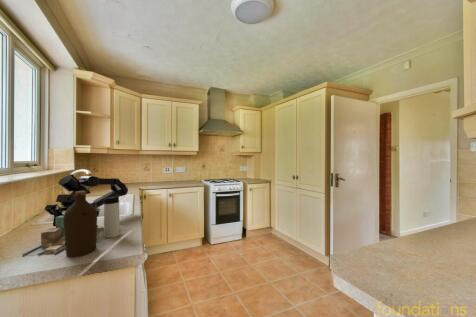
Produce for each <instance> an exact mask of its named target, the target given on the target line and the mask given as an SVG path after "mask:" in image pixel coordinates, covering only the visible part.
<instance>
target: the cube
mask: <svg viewBox="0 0 476 317" xmlns="http://www.w3.org/2000/svg"><path fill="white" fill-rule="evenodd" d="M60 239H62V228H56V227H53V228H52V227H51V228H46V229H45V230H43V231H42V232H40V243H41V244H47V243H55V242H57V241H58V240H60ZM41 244H40V245H41Z"/></svg>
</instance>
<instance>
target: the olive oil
mask: <svg viewBox="0 0 476 317" xmlns="http://www.w3.org/2000/svg"><path fill="white" fill-rule="evenodd" d="M75 194H76V195H75V202H74V203H73V204H72V205H71V206H70V207H69V208H68V209H67V210H66V211H64V213H63V215H64V217H63V222H64V232H65V246H66V249H65V254H66V255H65V256H66V257H67V258H72V259H73V258H75V259H76V258H81V257H84V256H88V255H89V254H92V253H93V252H95V251H96V250H97V231H98V228H97V227H98V226H97V225H98V216H97V211H98V209H97V210H96V208H95V207H94V206H93V205H91V204H90V203H89V202H87V201H88V200H87V196H86V195H87V194H85V191H77V192H75Z"/></svg>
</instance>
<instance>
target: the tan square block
mask: <svg viewBox="0 0 476 317" xmlns="http://www.w3.org/2000/svg"><path fill="white" fill-rule="evenodd" d="M56 245H63V247H65V240H62V241H60V242H58V243H57V244H56Z"/></svg>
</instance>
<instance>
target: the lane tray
mask: <svg viewBox="0 0 476 317" xmlns="http://www.w3.org/2000/svg"><path fill="white" fill-rule="evenodd" d="M64 240H65V239H64ZM56 244H57V243H56ZM56 244H54V245H52V246H56ZM50 247H51V246H50ZM47 248H49V247H42V248H41V244H39V245H38V246H36V247H34V248H32V249H30V250H28V251H26V252H24V253H22V255H21V256H22V257H31V256H52V255H58V254H59V253H60V252H62V251H64V250H66V246H65V247H63V248H61V249H59V250H58V251H56V252H54V253H47V254H45V249H47Z"/></svg>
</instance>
